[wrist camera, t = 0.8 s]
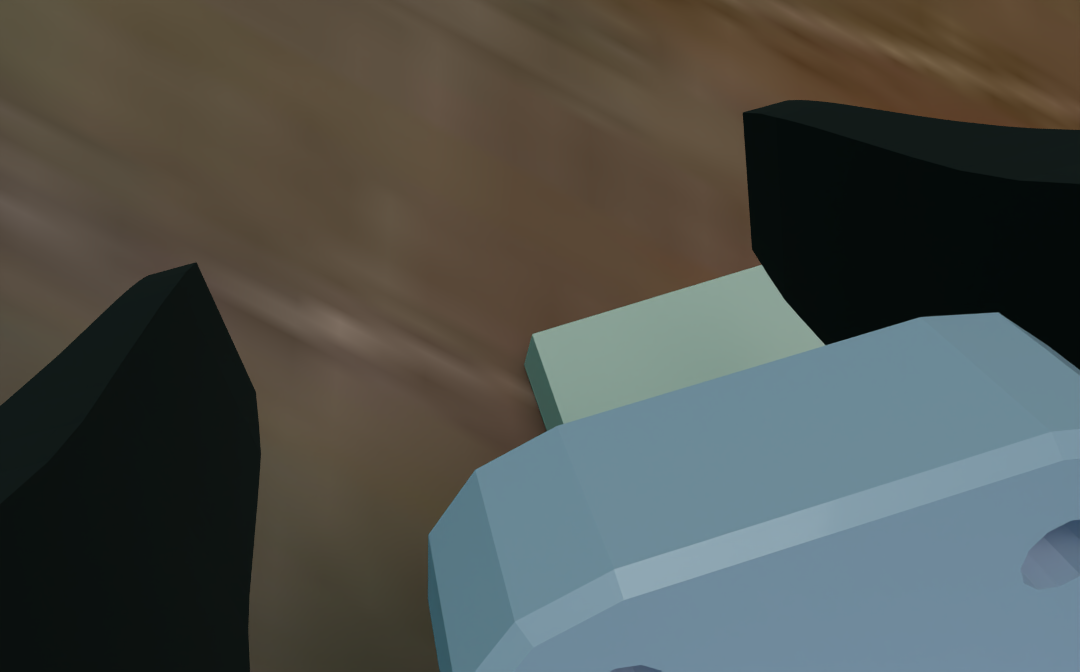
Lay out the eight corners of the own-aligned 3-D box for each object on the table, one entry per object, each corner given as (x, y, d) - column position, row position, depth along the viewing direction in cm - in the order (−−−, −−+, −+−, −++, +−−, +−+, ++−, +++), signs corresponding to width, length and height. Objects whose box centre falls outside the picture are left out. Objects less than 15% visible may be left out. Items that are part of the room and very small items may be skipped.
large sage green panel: (1238, 665, 25) (1337, 671, 22) (705, 892, 23) (741, 931, 20) (1009, 215, 29) (1069, 171, 26) (524, 365, 26) (532, 334, 23)
